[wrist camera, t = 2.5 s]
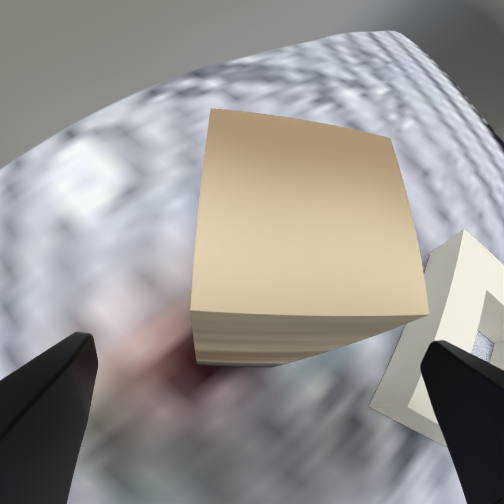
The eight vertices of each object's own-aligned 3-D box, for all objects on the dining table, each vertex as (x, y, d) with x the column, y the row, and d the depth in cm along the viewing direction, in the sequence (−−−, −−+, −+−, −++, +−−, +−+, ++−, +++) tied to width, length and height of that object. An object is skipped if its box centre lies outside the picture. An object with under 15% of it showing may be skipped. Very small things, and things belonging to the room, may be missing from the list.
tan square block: (271, 367, 17) (429, 314, 5) (197, 365, 16) (190, 309, 4) (271, 296, 18) (390, 138, 7) (200, 292, 18) (211, 108, 6)
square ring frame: (478, 461, 15) (516, 464, 12) (368, 406, 17) (407, 407, 13) (518, 328, 20) (551, 315, 17) (430, 253, 21) (463, 228, 18)
